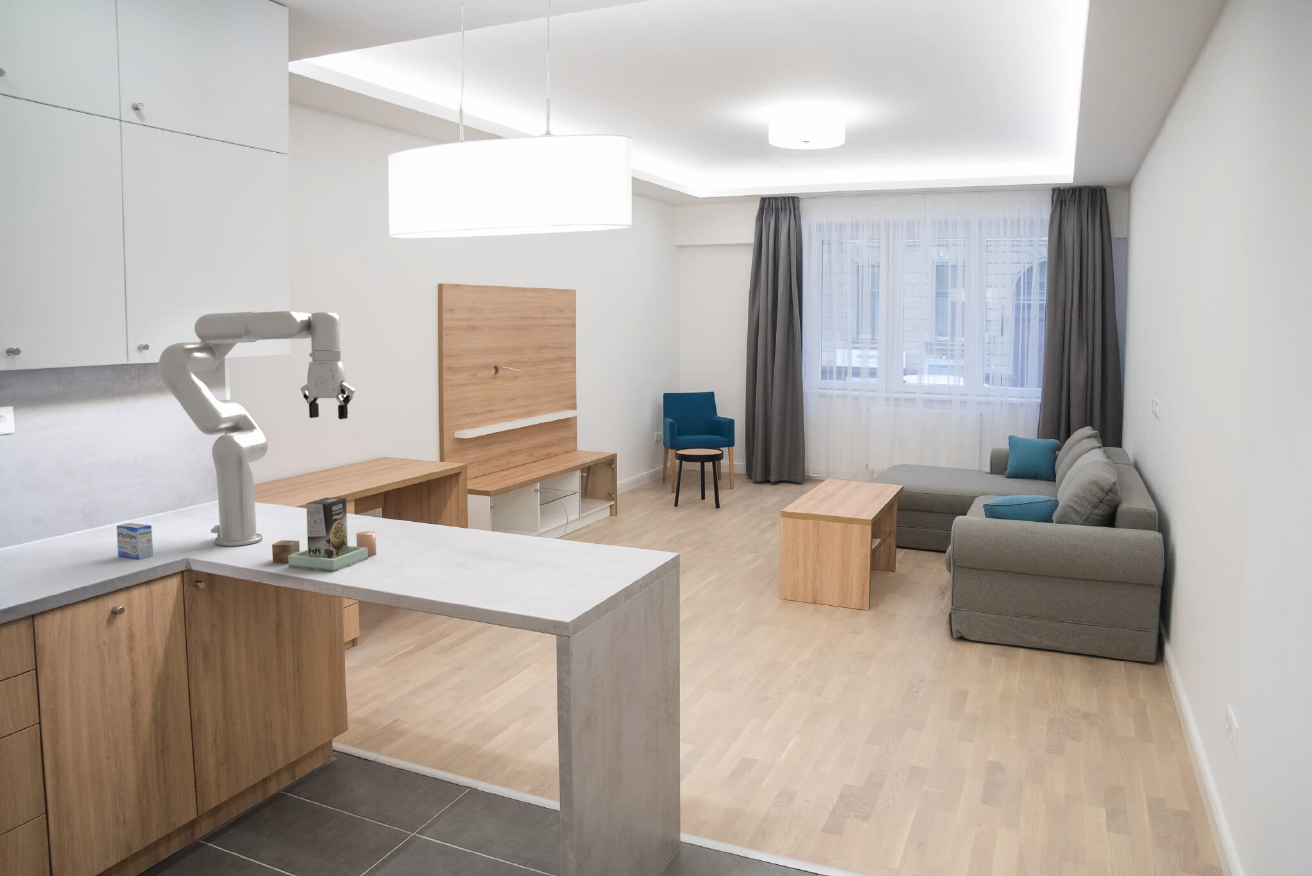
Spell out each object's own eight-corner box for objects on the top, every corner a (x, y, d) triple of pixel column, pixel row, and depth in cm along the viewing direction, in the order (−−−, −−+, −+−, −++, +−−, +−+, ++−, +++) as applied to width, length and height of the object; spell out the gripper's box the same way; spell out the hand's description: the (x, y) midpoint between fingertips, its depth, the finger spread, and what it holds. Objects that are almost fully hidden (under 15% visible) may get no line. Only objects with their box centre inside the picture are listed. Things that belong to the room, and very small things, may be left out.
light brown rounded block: (353, 556, 245) (352, 534, 244) (364, 552, 250) (363, 530, 249) (368, 557, 243) (368, 536, 243) (380, 553, 248) (379, 532, 247)
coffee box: (329, 565, 233) (327, 503, 231) (307, 563, 234) (304, 502, 232) (349, 556, 242) (347, 497, 240) (328, 555, 243) (325, 496, 241)
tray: (288, 566, 233) (288, 555, 233) (324, 554, 247) (324, 543, 246) (334, 571, 229) (333, 560, 229) (368, 558, 242) (367, 547, 242)
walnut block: (272, 563, 237) (272, 544, 237) (281, 558, 242) (281, 540, 242) (291, 563, 237) (290, 545, 237) (299, 558, 242) (299, 540, 242)
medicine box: (117, 557, 242) (115, 525, 241) (132, 553, 247) (130, 522, 246) (139, 559, 240) (137, 527, 239) (153, 556, 244) (151, 524, 243)
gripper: (291, 356, 250) (293, 418, 253) (343, 357, 245) (345, 420, 247) (309, 356, 258) (312, 415, 260) (360, 357, 252) (362, 418, 254)
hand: (328, 418), depth 253 cm, fingers open, 9 cm apart
